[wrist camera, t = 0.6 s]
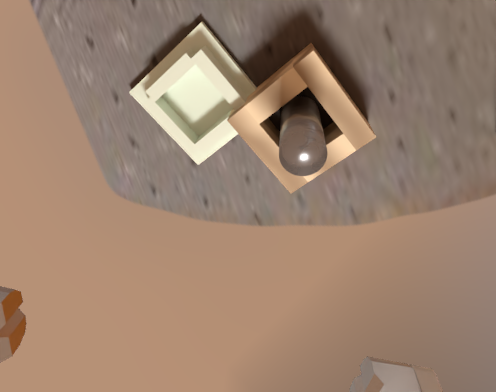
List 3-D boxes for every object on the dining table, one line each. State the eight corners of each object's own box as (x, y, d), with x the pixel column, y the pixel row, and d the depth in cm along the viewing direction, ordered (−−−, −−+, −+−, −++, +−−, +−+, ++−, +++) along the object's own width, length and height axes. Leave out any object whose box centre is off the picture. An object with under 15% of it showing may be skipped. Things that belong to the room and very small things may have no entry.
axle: (304, 87, 45) (308, 122, 35) (326, 117, 47) (337, 158, 36) (273, 111, 47) (269, 150, 37) (296, 139, 48) (297, 184, 38)
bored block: (311, 42, 43) (313, 50, 38) (368, 122, 46) (376, 137, 42) (232, 107, 47) (227, 120, 43) (290, 174, 51) (290, 193, 47)
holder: (202, 21, 43) (196, 24, 40) (271, 105, 47) (270, 114, 44) (131, 90, 47) (121, 98, 44) (199, 161, 51) (194, 173, 48)
